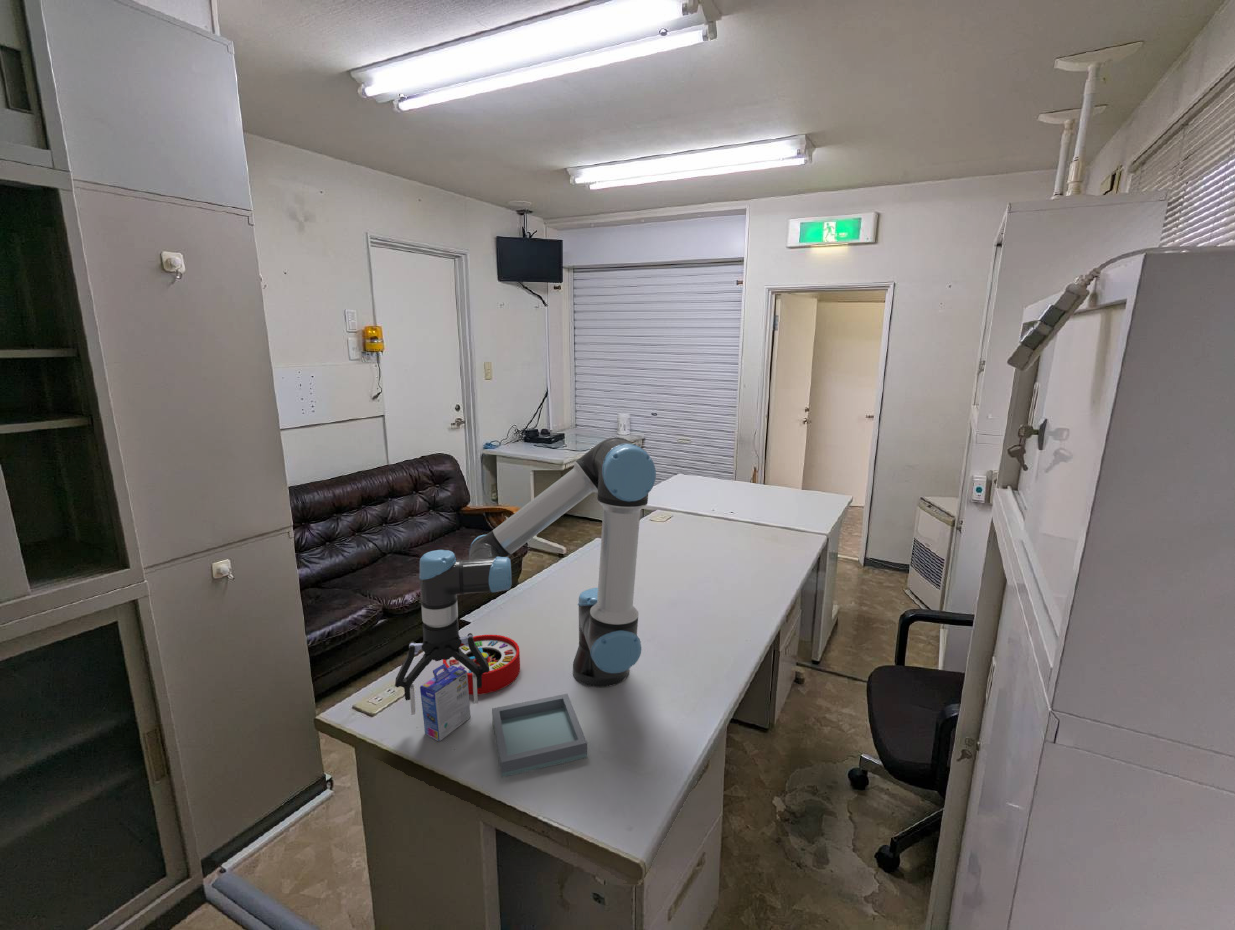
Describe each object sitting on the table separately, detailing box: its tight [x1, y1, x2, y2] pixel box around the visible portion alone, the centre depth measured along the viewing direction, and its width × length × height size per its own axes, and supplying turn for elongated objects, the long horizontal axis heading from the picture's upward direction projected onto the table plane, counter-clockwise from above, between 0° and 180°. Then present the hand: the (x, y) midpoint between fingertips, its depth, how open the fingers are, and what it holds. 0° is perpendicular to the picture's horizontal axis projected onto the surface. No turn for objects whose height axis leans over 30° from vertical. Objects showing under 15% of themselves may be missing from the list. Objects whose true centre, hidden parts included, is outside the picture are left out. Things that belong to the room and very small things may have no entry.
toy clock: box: [442, 634, 521, 696], centre depth 147 cm, size 20×6×20 cm
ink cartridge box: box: [419, 663, 472, 742], centre depth 125 cm, size 10×6×14 cm, turn 150°
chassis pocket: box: [491, 693, 588, 778], centre depth 122 cm, size 18×18×4 cm
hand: (445, 705), depth 125 cm, fingers open, 13 cm apart
